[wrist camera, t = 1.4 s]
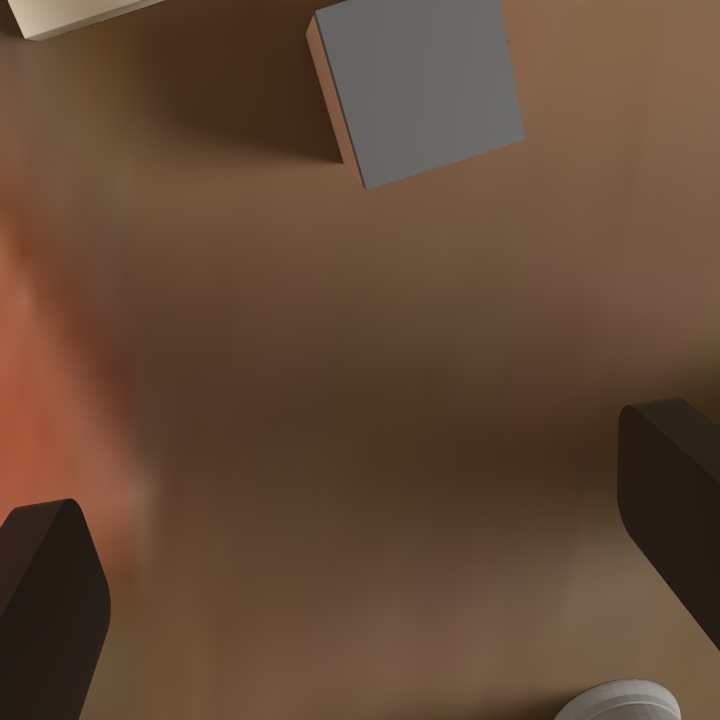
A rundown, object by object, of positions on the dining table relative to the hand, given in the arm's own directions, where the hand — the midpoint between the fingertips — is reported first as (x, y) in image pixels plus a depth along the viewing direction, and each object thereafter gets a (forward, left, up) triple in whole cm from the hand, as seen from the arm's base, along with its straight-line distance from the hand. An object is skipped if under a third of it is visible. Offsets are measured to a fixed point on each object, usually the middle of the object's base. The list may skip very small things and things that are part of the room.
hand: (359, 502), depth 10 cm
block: (-5, -5, -20) cm, 21 cm away
